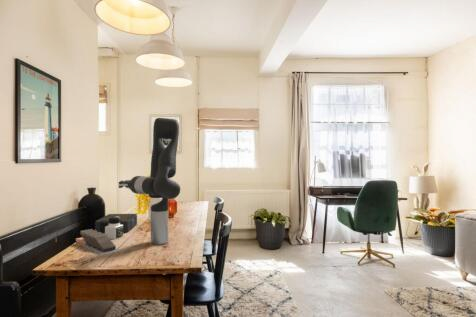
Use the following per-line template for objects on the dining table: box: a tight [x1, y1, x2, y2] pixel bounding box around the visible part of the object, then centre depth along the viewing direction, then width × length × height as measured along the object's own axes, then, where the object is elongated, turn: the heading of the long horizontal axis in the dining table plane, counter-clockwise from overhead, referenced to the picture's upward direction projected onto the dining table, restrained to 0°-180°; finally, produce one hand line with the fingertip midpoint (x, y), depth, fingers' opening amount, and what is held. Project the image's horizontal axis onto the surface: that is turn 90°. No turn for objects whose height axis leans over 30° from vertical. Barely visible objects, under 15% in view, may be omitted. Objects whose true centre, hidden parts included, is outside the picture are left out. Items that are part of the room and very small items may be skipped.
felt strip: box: [80, 244, 123, 256], centre depth 150 cm, size 24×10×1 cm, turn 50°
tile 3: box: [84, 230, 98, 248], centre depth 154 cm, size 2×6×12 cm
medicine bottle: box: [104, 217, 124, 240], centre depth 171 cm, size 7×7×12 cm
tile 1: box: [93, 233, 117, 252], centre depth 148 cm, size 2×6×12 cm
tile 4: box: [79, 228, 94, 246], centre depth 157 cm, size 2×6×12 cm
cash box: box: [94, 213, 138, 234], centre depth 194 cm, size 25×20×8 cm
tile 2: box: [88, 232, 103, 250], centre depth 151 cm, size 2×6×12 cm
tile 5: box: [75, 236, 87, 245], centre depth 161 cm, size 2×6×12 cm
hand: (121, 183), depth 137 cm, fingers closed
